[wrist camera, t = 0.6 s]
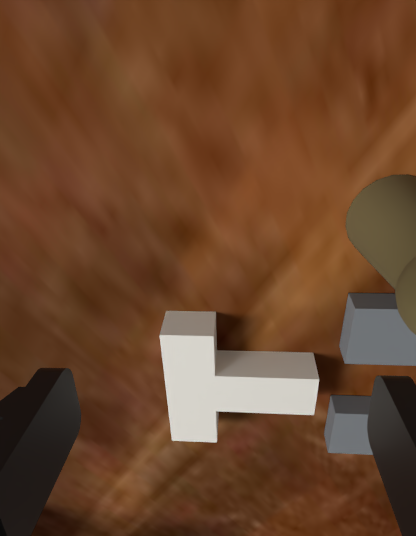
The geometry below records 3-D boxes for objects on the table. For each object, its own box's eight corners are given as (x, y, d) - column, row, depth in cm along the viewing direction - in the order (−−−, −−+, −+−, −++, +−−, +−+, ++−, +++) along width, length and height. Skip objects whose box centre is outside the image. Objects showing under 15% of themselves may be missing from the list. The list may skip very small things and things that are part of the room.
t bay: (324, 433, 38) (328, 452, 36) (348, 292, 30) (355, 308, 28) (444, 438, 37) (454, 458, 35) (503, 295, 29) (519, 311, 27)
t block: (176, 413, 38) (171, 440, 35) (166, 310, 32) (159, 335, 29) (304, 417, 37) (309, 446, 34) (318, 313, 31) (325, 338, 28)
